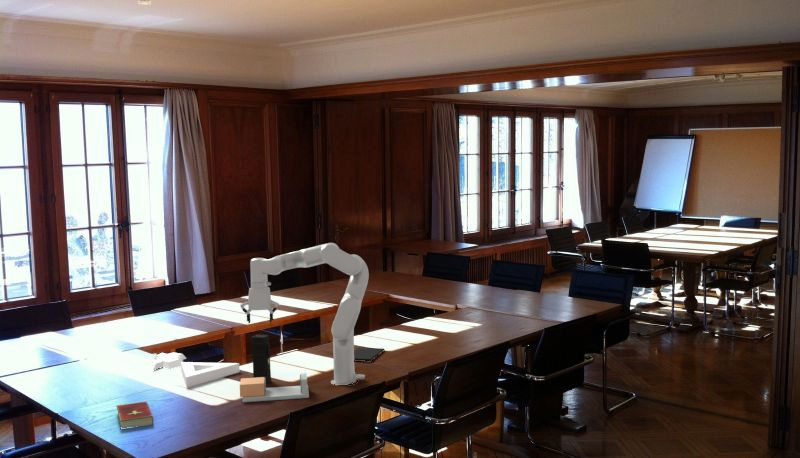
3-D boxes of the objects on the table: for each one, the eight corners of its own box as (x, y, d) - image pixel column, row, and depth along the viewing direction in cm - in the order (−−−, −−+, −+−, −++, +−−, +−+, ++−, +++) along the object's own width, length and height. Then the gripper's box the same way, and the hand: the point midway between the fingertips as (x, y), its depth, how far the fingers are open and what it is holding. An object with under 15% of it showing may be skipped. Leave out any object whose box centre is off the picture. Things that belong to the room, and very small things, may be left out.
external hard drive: (384, 354, 391) (384, 348, 391) (370, 365, 369) (370, 359, 368) (359, 352, 395) (359, 347, 395) (343, 363, 373) (343, 357, 373)
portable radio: (273, 382, 339) (272, 329, 337) (268, 386, 333) (266, 332, 332) (258, 381, 341) (256, 328, 340) (252, 385, 336) (250, 331, 334)
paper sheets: (185, 375, 358) (184, 364, 358) (142, 378, 355) (142, 367, 354) (191, 358, 393) (191, 348, 392) (153, 360, 389) (152, 350, 389)
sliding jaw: (266, 388, 324) (265, 376, 323) (265, 395, 314) (265, 382, 313) (241, 390, 322) (241, 378, 322) (240, 397, 312) (239, 384, 312)
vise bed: (307, 388, 329) (307, 372, 328) (309, 397, 315) (308, 380, 314) (244, 392, 324) (243, 376, 324) (242, 402, 310) (241, 384, 310)
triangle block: (181, 374, 359) (180, 362, 359) (235, 368, 369) (234, 356, 368) (186, 390, 331) (186, 377, 331) (244, 384, 341) (244, 370, 340)
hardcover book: (147, 410, 304) (147, 400, 304) (153, 425, 285) (153, 414, 285) (116, 415, 299) (116, 404, 299) (120, 430, 280) (120, 419, 280)
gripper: (278, 283, 339) (279, 320, 340) (240, 284, 336) (241, 321, 338) (278, 285, 332) (279, 323, 333) (239, 287, 329) (240, 324, 330)
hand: (260, 322), depth 335 cm, fingers open, 9 cm apart
